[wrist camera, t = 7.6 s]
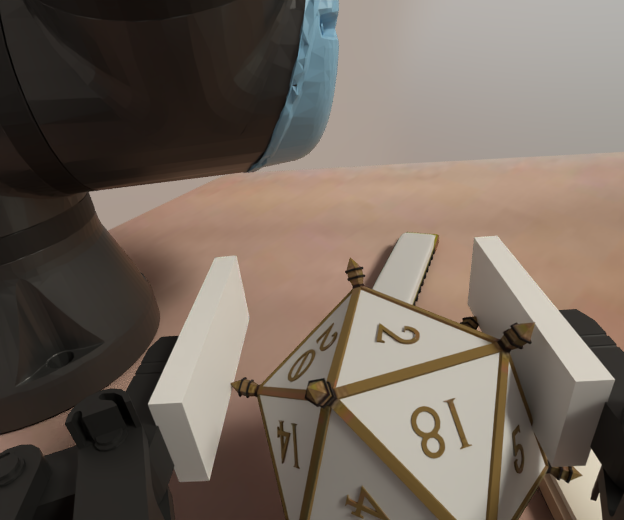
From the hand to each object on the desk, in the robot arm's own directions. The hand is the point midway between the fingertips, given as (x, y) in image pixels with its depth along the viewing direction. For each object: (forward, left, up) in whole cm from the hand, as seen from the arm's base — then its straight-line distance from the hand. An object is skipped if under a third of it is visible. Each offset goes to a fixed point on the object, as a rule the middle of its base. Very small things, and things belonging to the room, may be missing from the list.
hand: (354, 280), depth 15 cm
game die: (+1, -5, -6) cm, 8 cm away
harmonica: (+4, +15, -10) cm, 18 cm away
